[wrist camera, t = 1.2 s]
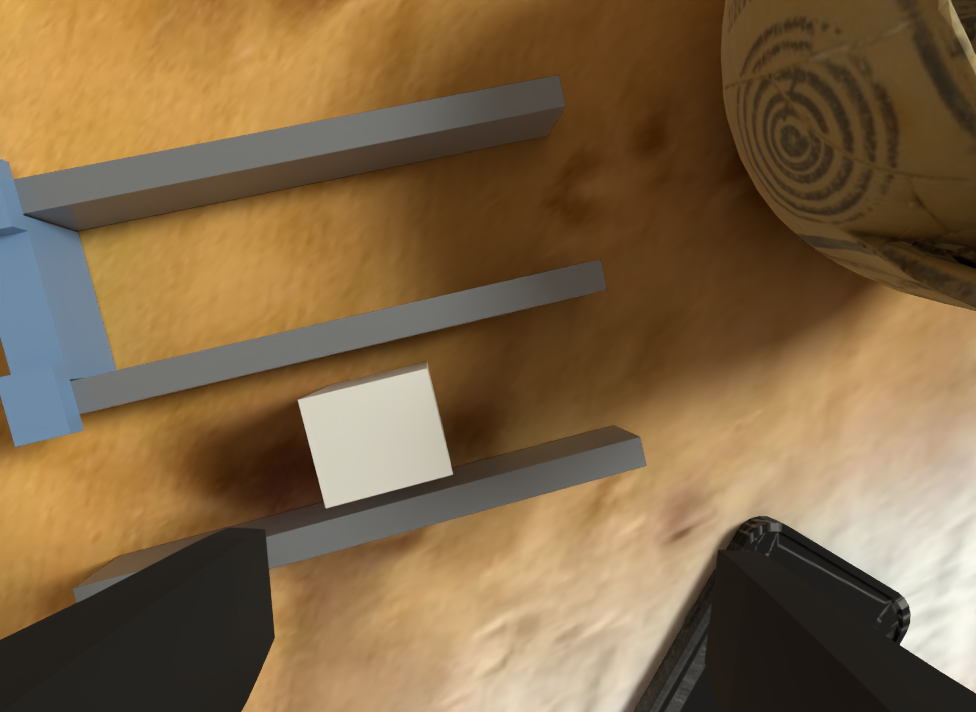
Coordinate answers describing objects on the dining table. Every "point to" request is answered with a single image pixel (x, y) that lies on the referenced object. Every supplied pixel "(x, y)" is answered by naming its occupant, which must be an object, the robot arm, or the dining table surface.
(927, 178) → the ceramic bowl
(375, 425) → the cream rectangular box
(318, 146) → the metal rails
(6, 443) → the dining table surface
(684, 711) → the black tray
